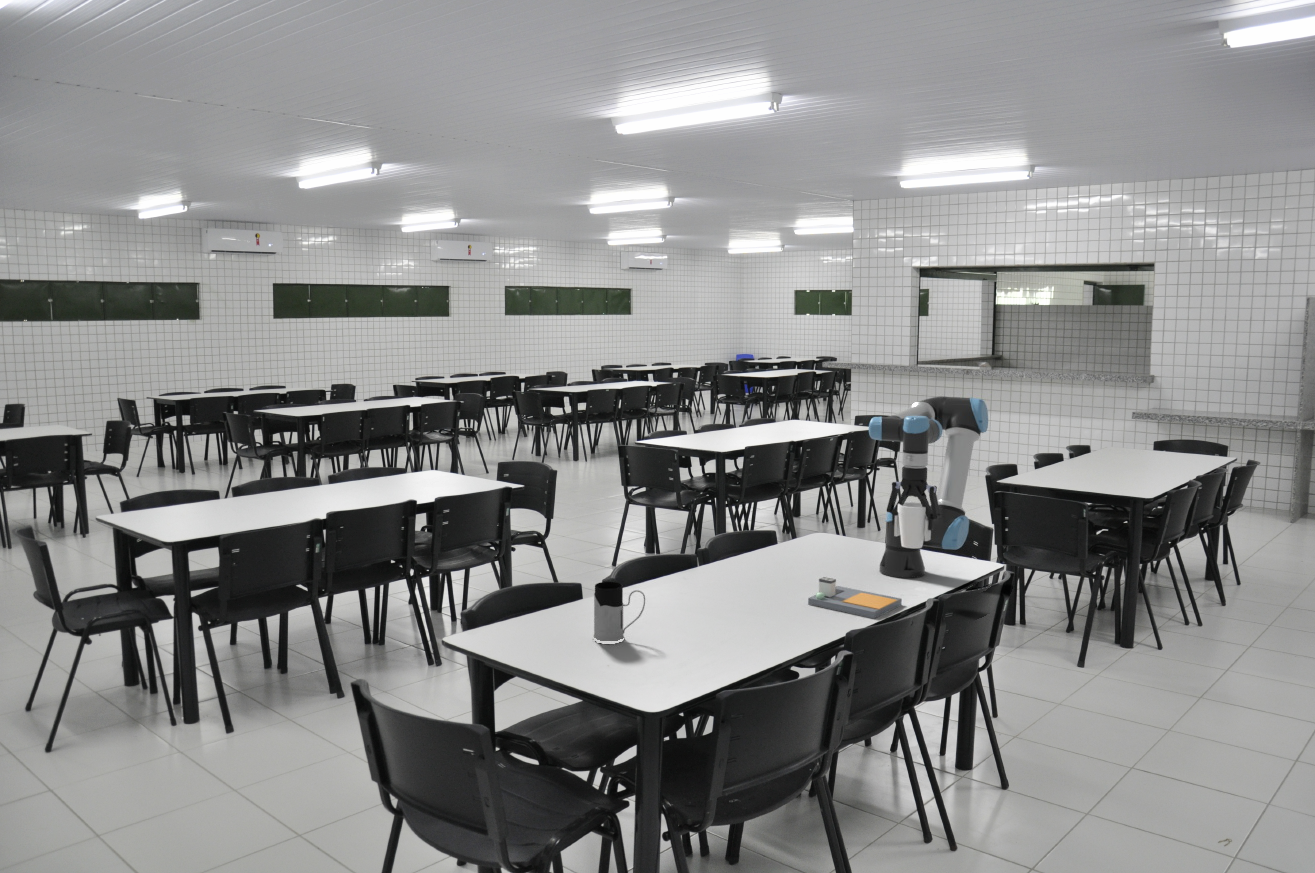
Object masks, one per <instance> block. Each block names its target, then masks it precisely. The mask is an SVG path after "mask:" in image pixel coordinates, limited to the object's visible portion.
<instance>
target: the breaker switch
mask: <svg viewBox="0 0 1315 873" xmlns="http://www.w3.org/2000/svg"><path fill="white" fill-rule="evenodd" d="M836 583H837V579H835V578H832V577H827V576H823V577H820V578H819V579H818V593H824V596H827V597H832V596H834V595H835V587H836V586H837V585H836Z"/></svg>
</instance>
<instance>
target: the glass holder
mask: <svg viewBox="0 0 1315 873" xmlns="http://www.w3.org/2000/svg"><path fill="white" fill-rule="evenodd" d="M623 589H624V587H623V583H621V582H617V581H601V582H598V583H596V584H594V593H593V596H594V597H593V598H594V599H593V603H594V604H593V613H594V614H593V618H594V619H593V623H594V624H593V625H594V626H593V627H594V628H593V631H594V632H593V633H594V634H593V637H594V638H596V639H597V640H600V641H618V640H620V639H623V638H625V635H624V634H625V631H626V630H627V628H629V627H630V626H631V625H633V624H634V623H635V622H636V621H637V620H638V619H639V618H640V617H641V616H642V614H643V612H644V610H645V605H646V597H645V594H644V592H643V591H641V590H639V589H635V590H632V591H631V592H630V593H629V594H628V595H629V596H628V603H626V604H624V603H623V601H624V600H623V596H624V595H623V594H624V593H623ZM634 593H640V594H642V596H643V606H642V609H641V611H640V613H639V614H638V616H636V617H635V619H633V621H630V623H628V624H627V625H626V626H625V627H624V607H627V606H629V605H630V603H631V596H632V595H633V594H634Z"/></svg>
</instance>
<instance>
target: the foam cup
mask: <svg viewBox="0 0 1315 873" xmlns="http://www.w3.org/2000/svg"><path fill="white" fill-rule="evenodd" d="M925 512H926V507H922V504H921V502H920V501H919V502H916V501H905V503H904V504H903V505H900V504H898V514H899V525H900V535H901V544H902V546H903V547H906V548H920V549H922V548H923V546H922V545H923V541H924V535H925V520H927V516H926V513H925Z"/></svg>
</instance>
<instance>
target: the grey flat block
mask: <svg viewBox="0 0 1315 873" xmlns="http://www.w3.org/2000/svg"><path fill="white" fill-rule="evenodd" d="M902 600H903V599H902V598H900V597H895V596H890V595H886V594H885V595H884V594H879V593H876V592H872V591H871V592H870V591H865V590H860V589H855V588H851V587H844V586H840V585H836V586H835V595H834V596H832V597H827V596H824V593H819V592H816V594H815V595H812V596H809V597H808V600H807V602H808V603H807V605H810V606H814V607H818V606H819V608H824V609H827V608H828V610H832V611H836V610H837V612H841V611H842V612H841V613H845V612H846V613H845V614H850V613H851V615H855V614H856V615H855V616H859V615H860V616H861V617H865V618H868V619H869V618H870V619H873V620H874V619H876V618H878V617H880V616H882V615H884V614H886V613H889V612H890V611H892V610H894V609H896V608H898V607H901V606H902Z"/></svg>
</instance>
